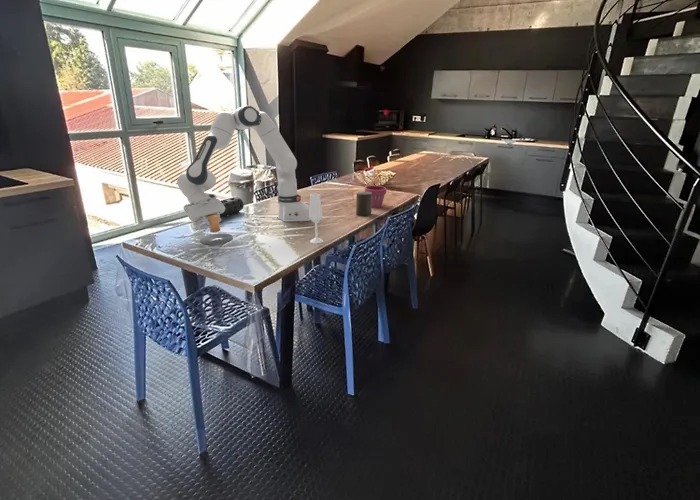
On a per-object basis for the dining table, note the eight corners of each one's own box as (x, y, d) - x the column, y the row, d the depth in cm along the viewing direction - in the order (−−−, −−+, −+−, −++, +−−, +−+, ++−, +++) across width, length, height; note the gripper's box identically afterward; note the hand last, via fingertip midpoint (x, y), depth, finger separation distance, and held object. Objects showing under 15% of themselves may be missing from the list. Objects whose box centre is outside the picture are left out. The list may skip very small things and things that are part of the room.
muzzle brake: (244, 213, 242) (243, 197, 239) (213, 225, 219) (211, 207, 215) (233, 211, 246) (231, 195, 242) (201, 223, 222) (198, 206, 219)
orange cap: (221, 229, 196) (220, 214, 193) (217, 232, 191) (215, 217, 188) (212, 229, 197) (210, 214, 194) (208, 232, 192) (206, 216, 189)
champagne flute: (307, 242, 191) (305, 195, 182) (313, 238, 197) (311, 192, 188) (319, 244, 189) (318, 196, 180) (325, 239, 195) (324, 193, 186)
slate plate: (237, 234, 202) (237, 233, 202) (225, 245, 187) (225, 244, 187) (209, 233, 204) (209, 232, 204) (194, 244, 189) (194, 243, 189)
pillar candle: (363, 217, 232) (364, 193, 227) (352, 213, 239) (353, 190, 234) (374, 214, 238) (375, 191, 233) (364, 211, 245) (364, 188, 240)
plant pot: (389, 205, 259) (389, 186, 254) (379, 210, 248) (380, 190, 243) (371, 202, 266) (371, 184, 261) (360, 207, 255) (360, 188, 250)
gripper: (183, 201, 183) (200, 224, 182) (217, 193, 199) (232, 214, 198) (179, 209, 187) (195, 231, 186) (213, 201, 203) (227, 221, 202)
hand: (214, 222), depth 192 cm, fingers closed on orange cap, 5 cm apart
